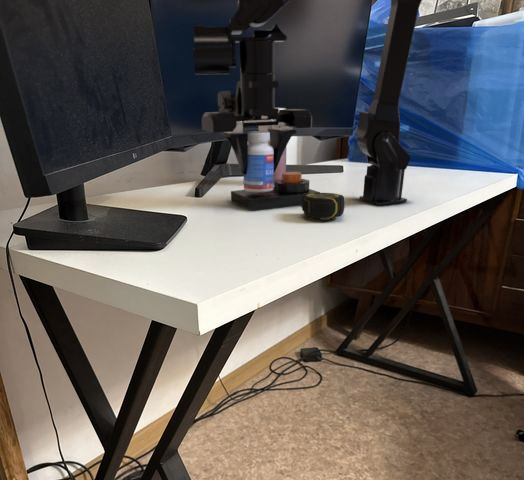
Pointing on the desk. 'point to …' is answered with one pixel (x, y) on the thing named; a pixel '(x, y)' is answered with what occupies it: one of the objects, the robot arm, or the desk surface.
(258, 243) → the desk surface
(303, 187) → the scale
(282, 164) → the beverage can
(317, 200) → the tape measure
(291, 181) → the button
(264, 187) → the pill bottle
